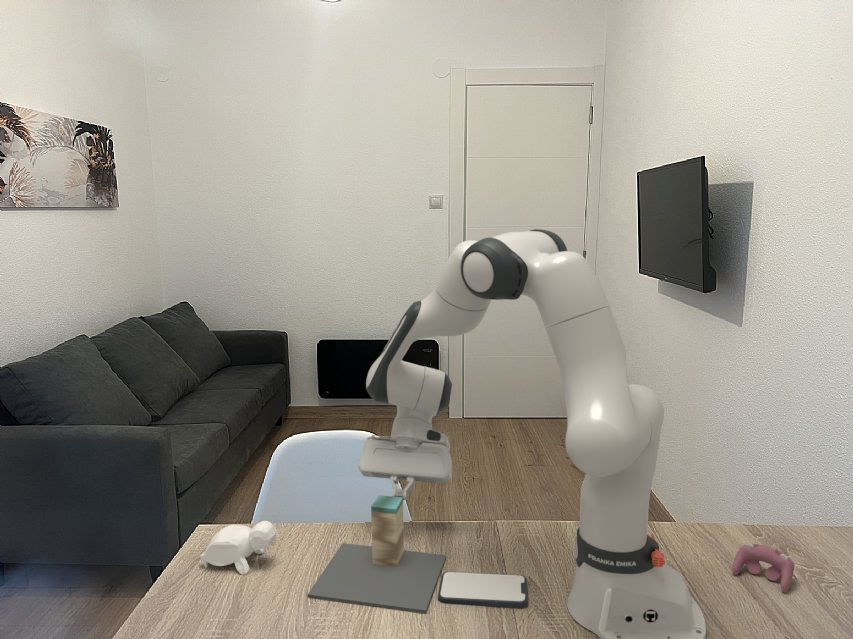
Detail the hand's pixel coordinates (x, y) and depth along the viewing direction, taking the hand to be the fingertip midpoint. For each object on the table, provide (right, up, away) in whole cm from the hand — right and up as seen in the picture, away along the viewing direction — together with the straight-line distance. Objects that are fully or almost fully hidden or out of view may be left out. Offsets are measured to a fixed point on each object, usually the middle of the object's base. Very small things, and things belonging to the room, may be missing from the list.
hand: (399, 498), depth 133 cm
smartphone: (+16, -13, -17) cm, 27 cm away
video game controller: (+69, -11, -14) cm, 71 cm away
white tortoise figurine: (-31, -11, -6) cm, 34 cm away
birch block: (-2, -10, -7) cm, 12 cm away
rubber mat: (-3, -11, -12) cm, 17 cm away
